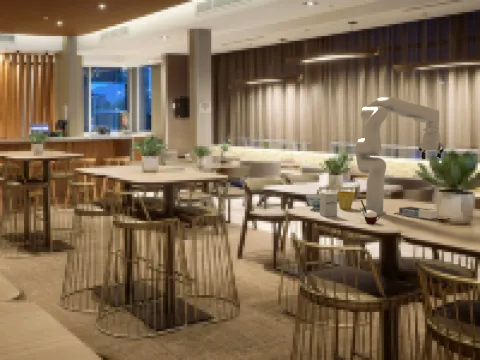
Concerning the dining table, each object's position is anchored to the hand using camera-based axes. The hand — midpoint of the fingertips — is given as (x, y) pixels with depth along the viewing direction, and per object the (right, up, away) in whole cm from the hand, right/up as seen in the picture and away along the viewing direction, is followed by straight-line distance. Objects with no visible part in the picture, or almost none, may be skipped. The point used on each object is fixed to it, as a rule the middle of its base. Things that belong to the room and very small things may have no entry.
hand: (431, 159), depth 358 cm
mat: (-14, -32, -27) cm, 44 cm away
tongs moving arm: (-12, -31, -22) cm, 40 cm away
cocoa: (-47, -34, -49) cm, 76 cm away
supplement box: (-65, -32, -25) cm, 76 cm away
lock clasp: (-11, -32, -35) cm, 49 cm away
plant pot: (-51, -29, +1) cm, 58 cm away
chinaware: (-67, -29, +1) cm, 73 cm away
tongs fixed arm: (-16, -31, -23) cm, 42 cm away
